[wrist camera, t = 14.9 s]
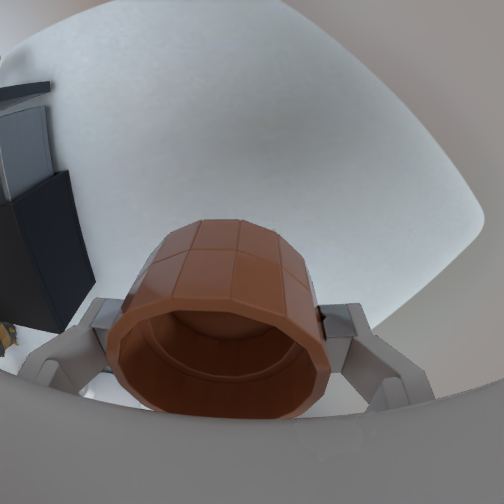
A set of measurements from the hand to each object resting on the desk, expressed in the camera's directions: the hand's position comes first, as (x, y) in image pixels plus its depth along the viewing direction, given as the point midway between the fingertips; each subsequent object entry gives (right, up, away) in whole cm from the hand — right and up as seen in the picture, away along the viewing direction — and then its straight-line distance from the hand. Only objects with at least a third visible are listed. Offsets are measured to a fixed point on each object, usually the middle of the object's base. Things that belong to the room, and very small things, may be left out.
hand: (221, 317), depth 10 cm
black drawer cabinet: (-26, +5, +20) cm, 33 cm away
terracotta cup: (0, +1, +1) cm, 2 cm away
